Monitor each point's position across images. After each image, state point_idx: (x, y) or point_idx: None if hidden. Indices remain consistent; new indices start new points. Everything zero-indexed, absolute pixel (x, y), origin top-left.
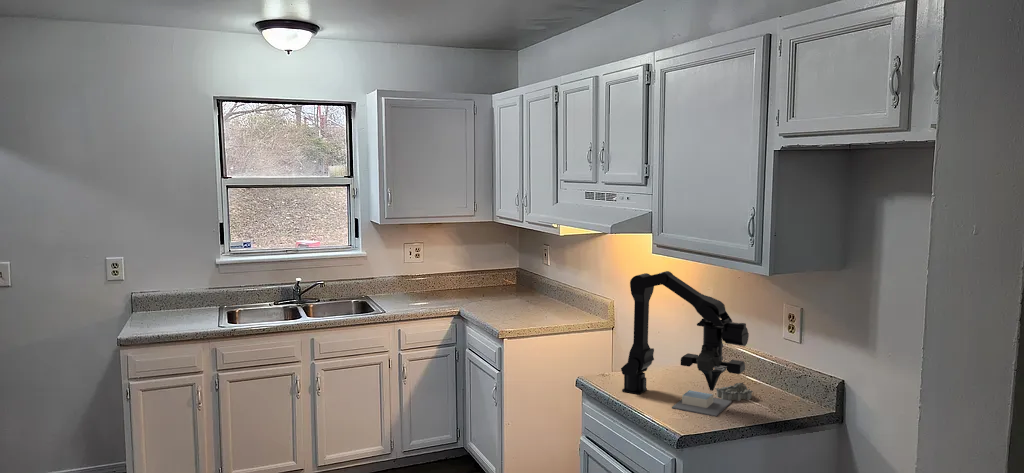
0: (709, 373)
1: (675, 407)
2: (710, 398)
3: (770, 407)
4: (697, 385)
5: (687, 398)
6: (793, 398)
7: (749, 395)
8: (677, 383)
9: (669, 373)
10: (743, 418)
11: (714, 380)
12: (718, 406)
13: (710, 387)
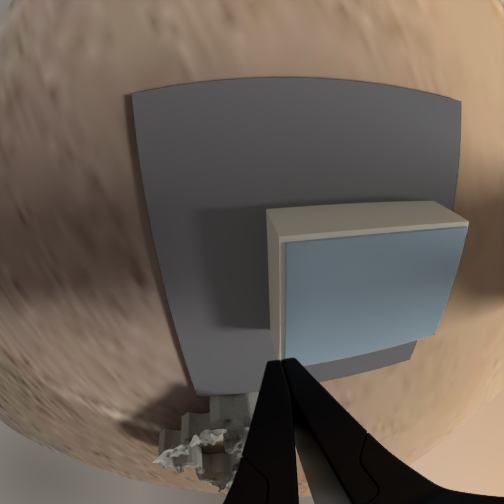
0: None
1: (445, 101)
2: (277, 311)
3: (54, 395)
4: (382, 426)
5: (430, 217)
6: (87, 459)
7: (159, 446)
8: (440, 398)
9: (449, 423)
10: (8, 199)
11: (250, 469)
12: (210, 289)
13: (295, 378)
